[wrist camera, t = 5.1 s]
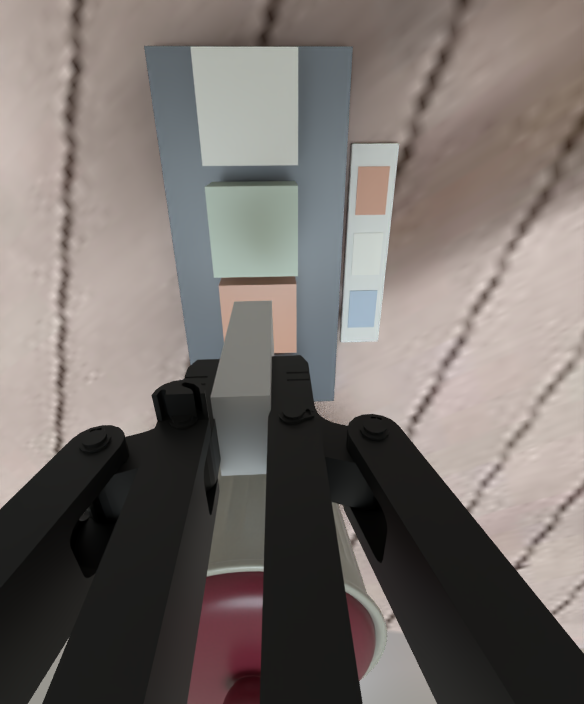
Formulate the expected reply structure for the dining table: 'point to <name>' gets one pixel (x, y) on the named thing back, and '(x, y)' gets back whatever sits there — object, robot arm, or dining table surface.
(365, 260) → the card
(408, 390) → the dining table surface
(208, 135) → the key ivory
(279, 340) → the key terracotta
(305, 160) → the keypad board
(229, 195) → the key sage
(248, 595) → the canister
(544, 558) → the dining table surface
